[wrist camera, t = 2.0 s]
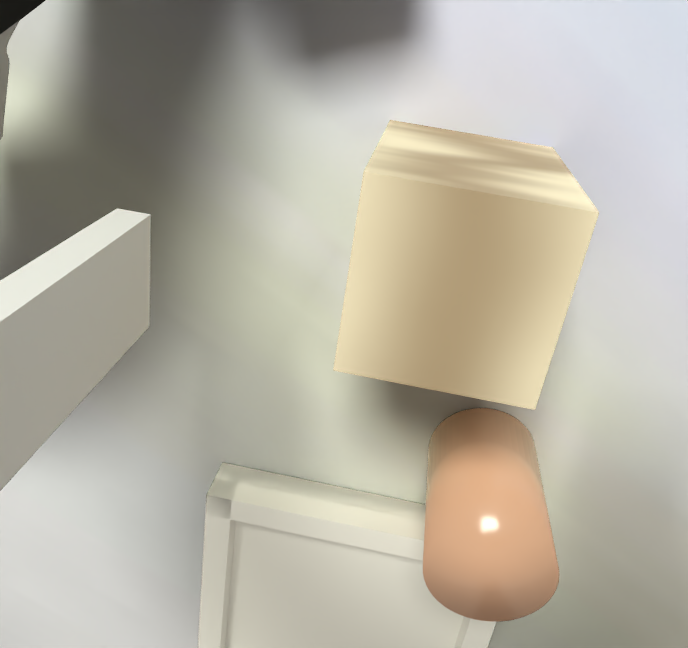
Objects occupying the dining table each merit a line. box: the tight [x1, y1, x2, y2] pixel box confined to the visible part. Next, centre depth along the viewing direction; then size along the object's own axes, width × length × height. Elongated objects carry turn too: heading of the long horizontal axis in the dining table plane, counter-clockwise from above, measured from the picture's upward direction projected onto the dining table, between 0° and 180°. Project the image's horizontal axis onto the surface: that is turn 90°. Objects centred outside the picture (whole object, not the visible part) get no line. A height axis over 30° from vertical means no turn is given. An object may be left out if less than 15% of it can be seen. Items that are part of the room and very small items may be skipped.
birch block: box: [333, 120, 599, 410], centre depth 18 cm, size 5×5×7 cm
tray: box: [198, 462, 497, 648], centre depth 29 cm, size 12×14×2 cm
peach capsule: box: [423, 408, 559, 621], centre depth 22 cm, size 4×4×6 cm
